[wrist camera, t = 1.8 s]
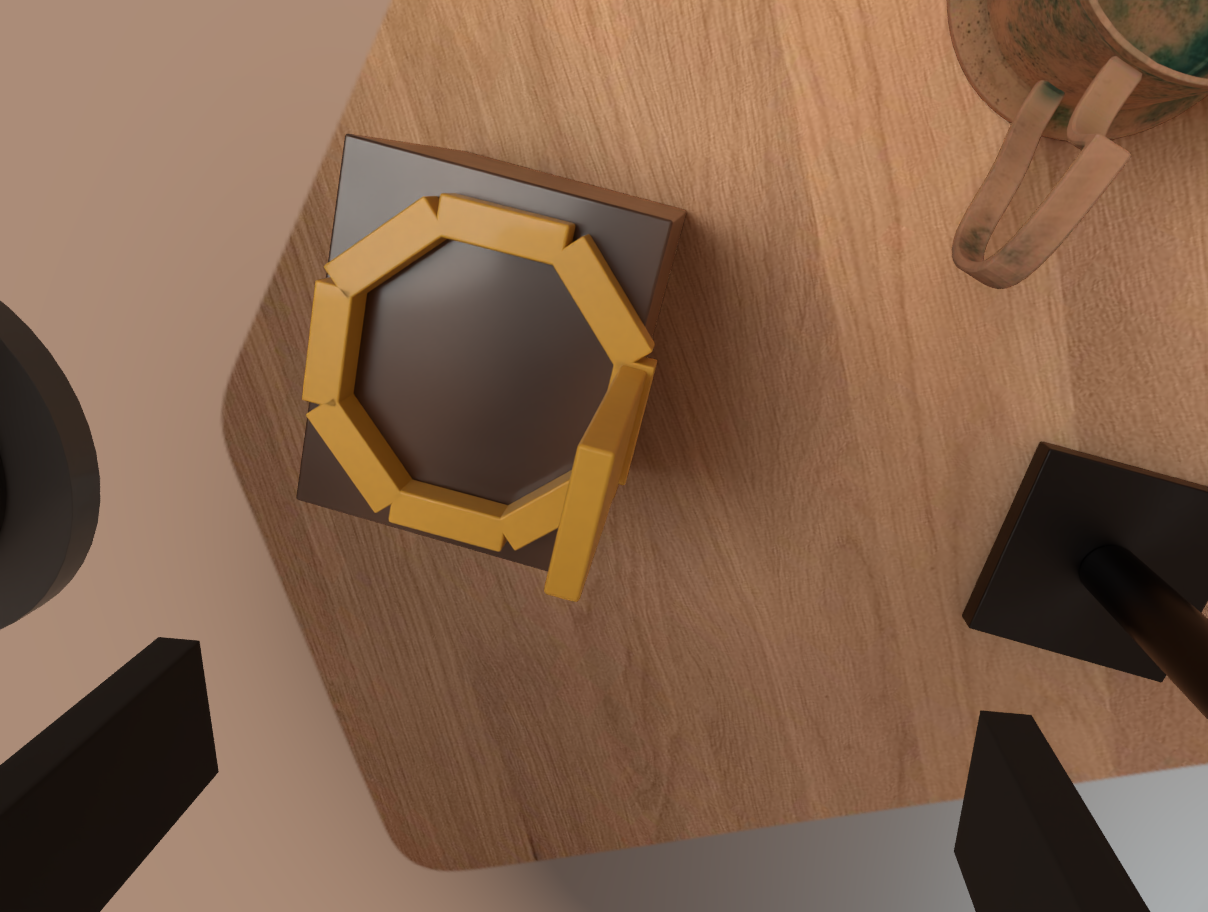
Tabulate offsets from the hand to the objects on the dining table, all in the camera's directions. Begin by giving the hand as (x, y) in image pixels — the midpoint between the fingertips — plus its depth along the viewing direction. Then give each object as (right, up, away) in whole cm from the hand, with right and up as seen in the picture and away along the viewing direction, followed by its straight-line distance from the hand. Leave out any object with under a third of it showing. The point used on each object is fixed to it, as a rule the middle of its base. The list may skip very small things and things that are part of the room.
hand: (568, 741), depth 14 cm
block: (-2, +11, +23) cm, 26 cm away
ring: (-3, +7, +12) cm, 14 cm away
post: (+23, 0, +24) cm, 33 cm away
